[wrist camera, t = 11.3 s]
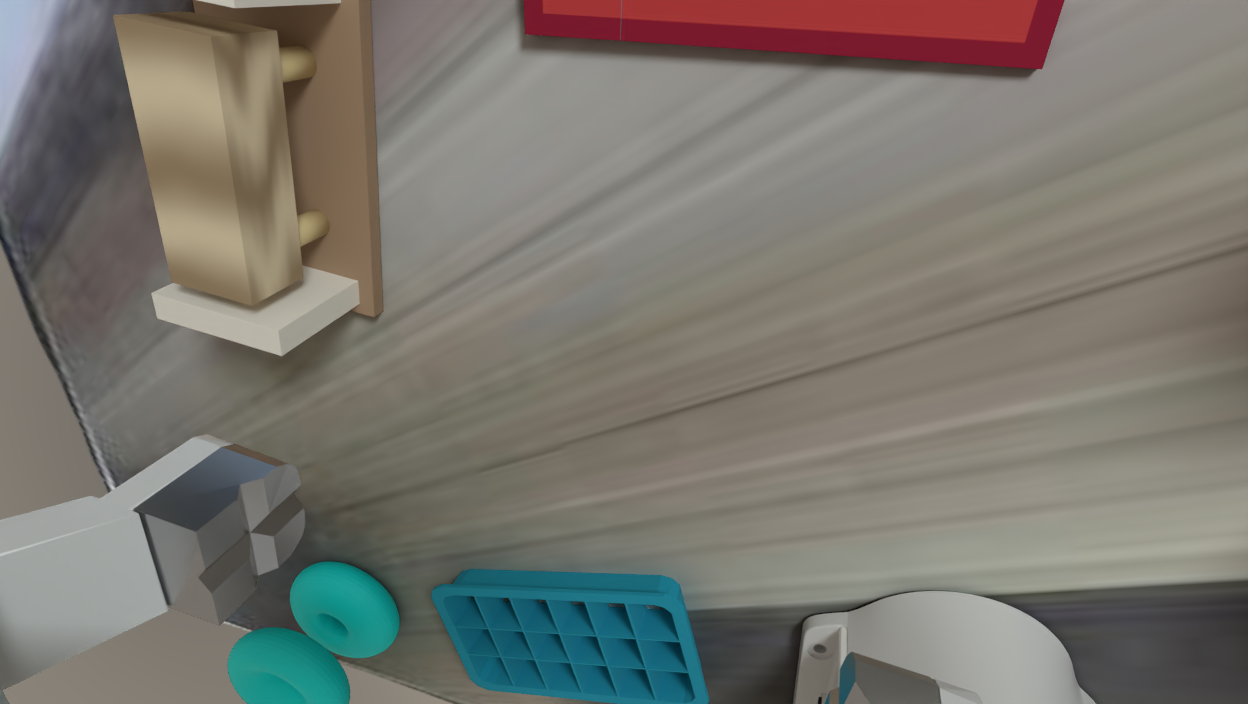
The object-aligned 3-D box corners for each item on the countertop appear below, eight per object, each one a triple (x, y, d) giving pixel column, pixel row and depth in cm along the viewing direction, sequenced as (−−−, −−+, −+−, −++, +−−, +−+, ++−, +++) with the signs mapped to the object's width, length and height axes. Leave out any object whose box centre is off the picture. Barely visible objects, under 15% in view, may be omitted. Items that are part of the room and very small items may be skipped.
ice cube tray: (717, 677, 52) (711, 713, 49) (490, 658, 59) (475, 688, 56) (688, 564, 47) (679, 597, 45) (445, 558, 54) (425, 586, 52)
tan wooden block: (187, 11, 33) (112, 15, 29) (277, 30, 32) (210, 36, 29) (228, 256, 39) (171, 282, 36) (303, 277, 39) (252, 306, 35)
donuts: (345, 754, 52) (239, 721, 55) (414, 647, 61) (319, 622, 63) (316, 671, 47) (201, 639, 50) (395, 567, 56) (294, 543, 58)
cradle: (383, 310, 43) (299, 371, 37) (249, 272, 45) (145, 324, 38) (368, -46, 33) (248, -53, 26) (195, -79, 35) (40, -93, 28)
